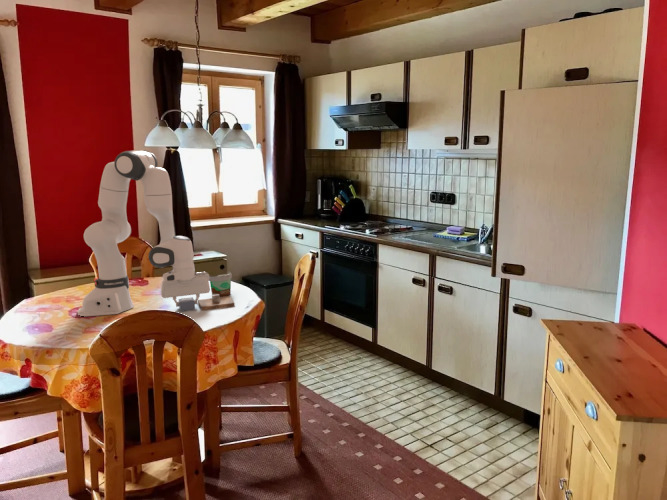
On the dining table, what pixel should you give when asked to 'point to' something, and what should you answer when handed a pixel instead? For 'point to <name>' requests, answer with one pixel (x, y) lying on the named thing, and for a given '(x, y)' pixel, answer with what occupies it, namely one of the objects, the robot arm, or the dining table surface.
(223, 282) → the food container
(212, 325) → the dining table surface
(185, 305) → the grey drawer unit
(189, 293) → the robot arm
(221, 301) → the board
